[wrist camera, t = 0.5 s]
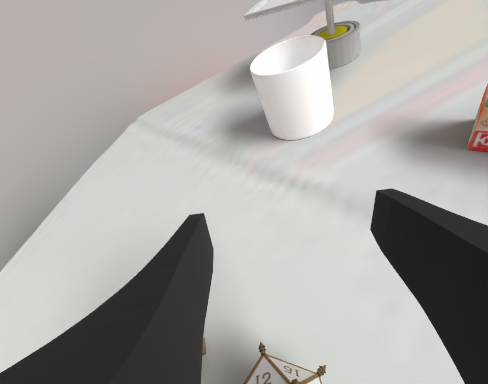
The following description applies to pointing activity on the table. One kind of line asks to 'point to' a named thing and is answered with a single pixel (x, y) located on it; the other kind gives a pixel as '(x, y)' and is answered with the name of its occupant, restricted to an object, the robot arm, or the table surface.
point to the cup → (295, 87)
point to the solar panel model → (335, 34)
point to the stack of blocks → (480, 127)
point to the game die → (281, 372)
